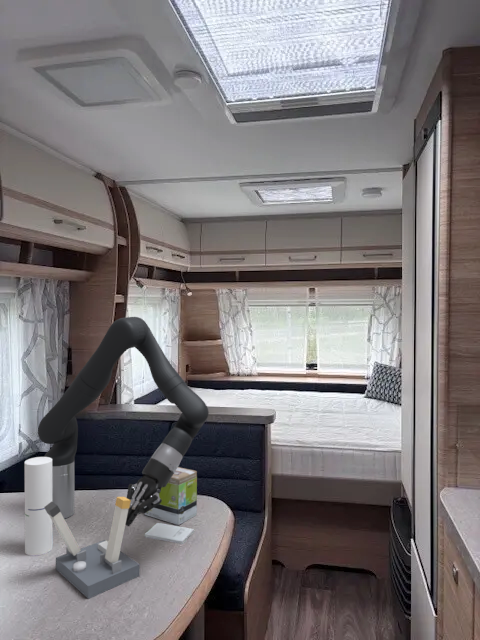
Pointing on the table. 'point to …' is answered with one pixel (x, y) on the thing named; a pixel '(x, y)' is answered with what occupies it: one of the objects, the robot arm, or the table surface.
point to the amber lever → (117, 530)
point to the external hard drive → (169, 533)
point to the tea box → (177, 498)
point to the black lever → (62, 528)
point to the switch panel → (96, 569)
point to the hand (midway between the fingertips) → (124, 524)
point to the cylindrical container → (38, 506)
